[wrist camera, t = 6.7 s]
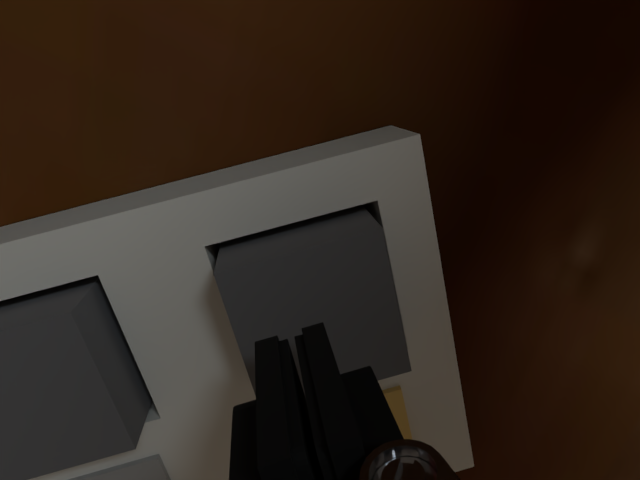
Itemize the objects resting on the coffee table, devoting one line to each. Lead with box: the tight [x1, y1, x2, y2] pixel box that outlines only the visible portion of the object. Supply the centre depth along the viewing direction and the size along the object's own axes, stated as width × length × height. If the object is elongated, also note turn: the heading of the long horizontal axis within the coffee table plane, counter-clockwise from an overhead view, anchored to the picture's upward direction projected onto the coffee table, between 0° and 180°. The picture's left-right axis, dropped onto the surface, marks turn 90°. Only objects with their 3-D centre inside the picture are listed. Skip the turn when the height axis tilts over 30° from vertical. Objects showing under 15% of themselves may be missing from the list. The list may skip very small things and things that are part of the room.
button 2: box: [213, 205, 412, 398], centre depth 14 cm, size 4×4×3 cm
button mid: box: [0, 275, 153, 480], centre depth 14 cm, size 4×4×3 cm
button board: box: [0, 125, 474, 480], centre depth 16 cm, size 24×12×3 cm, turn 104°
